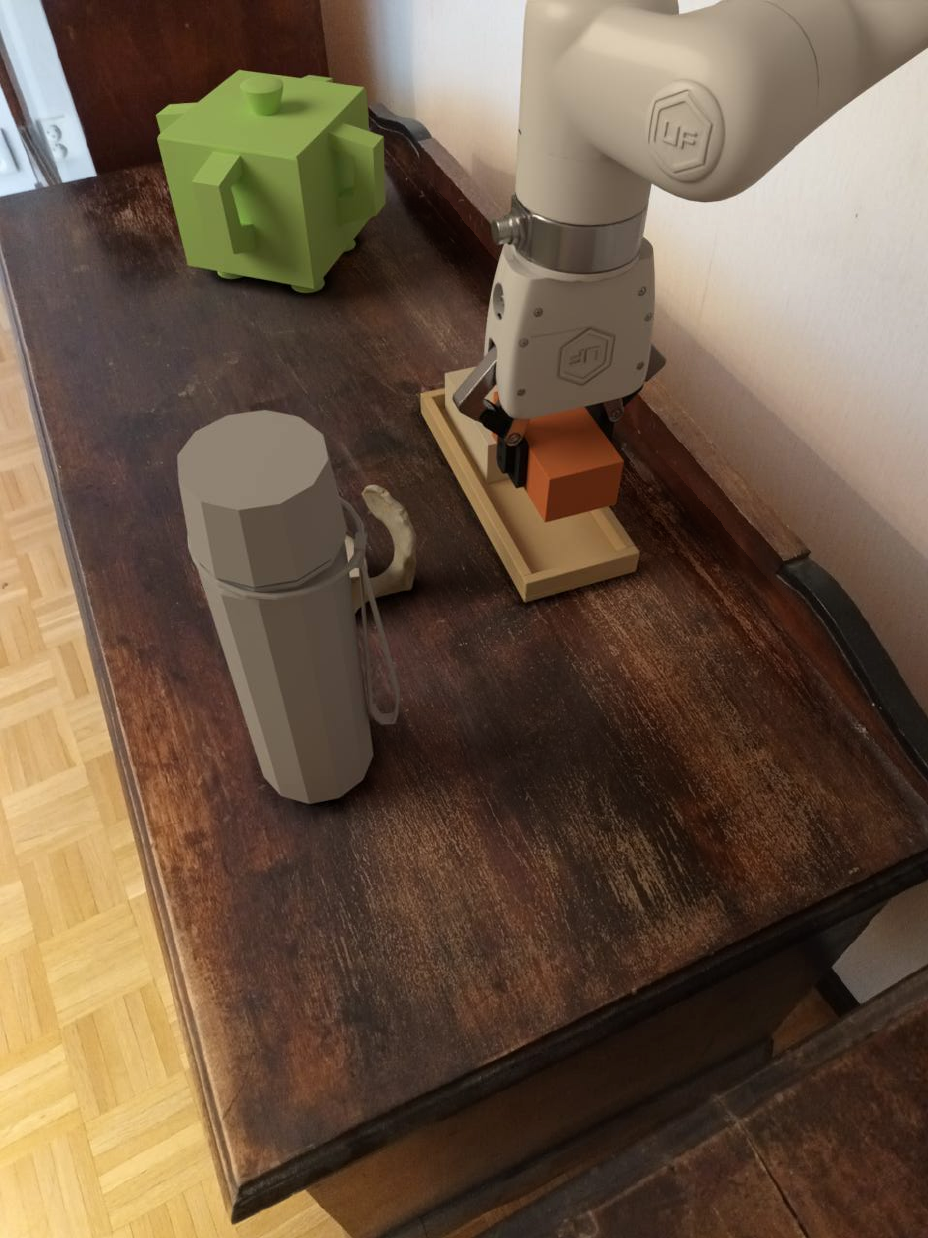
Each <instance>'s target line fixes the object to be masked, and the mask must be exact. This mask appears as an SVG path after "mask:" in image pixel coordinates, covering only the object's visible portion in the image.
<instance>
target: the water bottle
mask: <svg viewBox="0 0 928 1238" xmlns="http://www.w3.org/2000/svg"><path fill="white" fill-rule="evenodd" d="M176 460H177V461H176V462H177V463H176V464H177V479H178V486H179V492H180V499H181V503H182V509H183V516H184V520H185V527H186V531H187V548H188V551H189V554H190V557H191V560H192V562H193V563H194V564H195V566H196V569H197V571H198V575H199V579H200V582H201V585H202V588H203V591H204V594H205V598H206V601H207V604H208V607H209V610H210V613H211V616H212V619H213V623H214V626H215V629H216V633H217V635H218V639H219V641H220V646H221V647H222V651H223V653H224V654H223V655H224V658H225V660H226V664H227V667H228V670H229V672H230V676H231V679H232V683H233V685H234V688H235V692H236V695H237V697H238V701H239V705H240V707H241V711H242V714H243V716H244V720H245V723H246V726H247V729H248V732H249V735H250V738H251V742H252V746H253V748H254V751H255V754H256V757H257V760H258V764H259V766H260V770H261V774H262V776H263V778H264V779H265V780H266V781H267V782H268V783H269V784H270V786H271V787H272V788H273V789H274V790H275V791H276V792H277V793H278V795H280V797H283V798H287V799H290V800H294V801H297V802H299V803H300V802H301V803H304V804H308V805H311V804H312V805H313V804H316V803H321V802H325V801H330V800H331V801H332V800H336V799H340V798H341V797H343V796H344V795H345V794H346V793H348V792H349V791H350V790H352V789H353V788H354V787H356V786H357V785H358V784H360V783H361V782H362V781H363V780H365V779H364V778H365V776H366V774H367V772H368V769H369V766H370V765H371V762H372V760H373V758H374V748H373V741H372V734H371V725H370V718H369V717H370V716H369V713H370V715H371V716H372V717H373V719H374V721H376V722H377V723H379V724H380V725H395V724H396V722H397V719H398V717H399V711H400V694H401V688H400V687H401V686H400V683H399V681H398V676H397V673H396V669H395V666H394V663H393V659H392V656H391V651H390V647H389V644H388V641H387V638H386V637H387V636H386V634H385V631H384V627H383V623H382V620H381V616H380V612H379V609H378V606H377V601H376V598H374V594H373V591H372V587H371V583H370V580H369V578H370V576H369V573H368V569H366V566H365V562H364V557H365V558H366V550H367V549H366V548H367V543H368V542H367V540H368V536H369V535H368V534H369V533H367V532H365V523H364V521H363V520H362V519H361V517H360V516H359V514H358V513H357V511H356V510H355V508H354V506H353V505H352V504H351V503H349V502H348V501H347V500H345V499H344V498H342V497H341V496H340V494H339V490H338V487H337V482H336V479H335V474H334V471H333V468H332V464H331V460H330V455H329V452H328V449H327V444H326V441H325V437H324V434H323V433H322V432H320V431H319V430H317V429H316V428H315V427H314V426H312V425H311V423H309V422H307V421H306V420H304V418H302V417H301V416H297V415H293V414H287V413H282V412H277V411H272V410H267V409H262V410H256V411H255V410H253V411H249V412H241V413H233V414H227V415H225V416H223V417H221V418H219V419H217V420H215V421H214V422H211V423H210V424H207V425H205V426H203V427H202V428H199V429H198V430H195V431H194V433H193V434H192V435H191V437H190V438H189V439H188V440H187V442H186V443H185V444H184V446H183V447H182V448H181V450H180V451H179V452H178V454H177V455H176ZM343 509H344V510H345V512H346V513H347V514H348V515H349V516H350V518H351V520H352V521H353V523H354V525H355V530H356V532H355V534H354V540H355V541H354V554H353V556H352V557H351V559H350V560H349V562H348V558H347V551H346V545H345V539H346V535H347V531H348V529H347V524H346V519H345V516H344V511H343ZM354 568H359V581H360V596H361V607H360V608H361V609H360V611H361V623H362V639H363V652H364V654H363V655H364V666H365V668H364V669H365V680H366V689H365V680H364V673H363V665H362V658H361V657H362V656H361V651H360V650H361V649H360V643H359V642H360V641H359V635H358V628H357V626H358V625H357V620H356V613H355V611H354V604H353V596H352V589H351V581H350V574H349V572H350V571H351V570H353V569H354ZM363 579H364V582H365V586H366V590H367V593H368V597H369V601H368V602H369V604H370V607H371V611H372V615H373V619H374V622H375V626H376V630H377V633H378V637H379V641H380V644H381V648H382V652H383V655H384V660H385V662H386V666H387V670H388V675H389V677H390V682H391V686H392V688H393V692H394V695H395V700H396V701H395V706H394V709H393V712H385V713H382V712H381V711H380V710H379V708H378V707H377V705H376V704H375V703H374V694H373V693H374V692H373V681H372V669H371V658H370V657H371V655H370V644H369V634H368V622H367V621H368V620H367V610H366V609H367V608H366V603H365V596H364V584H363ZM366 694H367V695H366ZM368 708H369V711H368Z"/></svg>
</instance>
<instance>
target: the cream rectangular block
mask: <svg viewBox="0 0 928 1238" xmlns="http://www.w3.org/2000/svg"><path fill="white" fill-rule="evenodd" d="M476 367H477V365H476V366H472V367H467V368H462V369H459V370H458V369H457V370H453V371H448V372H445V373H444V388H445V412H446V414H447V415H448V417H449V419H450V421H451V422H452V424H453V426H454V428H455V429H456V431H457V433H458V435H459V436H460V438H461V440H462V442H463V443H464V445H465V447H466V449H467V450H468V452H469V454H470V456H471V457H472V459H473V461H474V463H475V464H476V466H477V468H478V470H479V471H480V473H481V475H482V477H483V478H484V480H485V482H486V484H488V483H492V482H496V481H500V480H504V479H508V478H509V476H508V474H507V473H505V474H502V472H501V471H500V469H499V467H498V464H497V459H496V455H497V443H496V441H495V439H494V438H493V436H492V432H491V431H490V430H488V429H487V428H485V427H484V426H483V424H482V423H480V422H478V421H475V420H473V419H471V418H469V417H467V416H466V415H464V414H462V413H460V412H459V410H458V408H457V407H456V405H455V403H454V402H453V399H452V397H453V395H454V393H455V392H456V391H457V389H458V388H459V387H460V386H461V385H462V383H463V382H464V381H465V380H466V379H467V377H468V376H469V375H470V374H471V373H472V371H473V370H474V369H475V368H476ZM497 391H498V390H497V385H495V386H494V388H493V389H492V390H491V391H490V392H489V393H488V395H487V396H486V397H485V398H484V399H487V400H489V401H491V402H492V403H493V402H494V392H497Z"/></svg>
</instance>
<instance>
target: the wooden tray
mask: <svg viewBox="0 0 928 1238" xmlns="http://www.w3.org/2000/svg"><path fill="white" fill-rule="evenodd" d="M419 398H420V413H421V415H422V417H423V419H424V421H425V423H426V424H427V426H428V428H429V430H430V431H431V433H432V435H433V438H434V439H435V441H436V443H437V444H438V446H439V448H440V450H441V452H442V454H443V456H444V457H445V459H446V461H447V463H448V465H449V466H450V469H451V470H452V472H453V474H454V476H455V477H456V480H457V481H458V483H459V485H460V487H461V489H462V490H463V492H464V494H465V496H466V498H467V500H468V502H469V503H470V505H471V507H472V509H473V511H474V512H475V514H476V516H477V518H478V520H479V522H480V523H481V525H482V527H483V529H484V531H485V532H486V535H487V536H488V539H489V540H490V542H491V544H492V546H493V547H494V549H495V552H496V553H497V555H498V557H499V559H500V560H501V562H502V564H503V565H504V568H505V569H506V571H507V573H508V575H509V577H510V579H511V580H512V582H513V584H514V586H515V588H516V589H517V590H516V591H518V594H519V595H520V597H521V600H522V601H523V602H524V603H528V602H533V601H537V600H539V599H543V598H547V597H551V596H553V595H556V594H557V595H558V594H560V593H564V592H567V591H571V590H575V589H577V588H578V589H579V588H581V587H585V586H589V585H592V584H596V583H600V582H602V581H607V580H610V579H613V578H618V577H621V576H625V575H628V574H632V573H635V572H637V567H638V562H639V558H640V550H639V549H638V547H637V546H636V545H635V542H634V541H633V540H632V538H631V537H630V536H629V534H628V533H627V531H626V529H625V528H624V527H623V525H622V524H621V523H620V520H619V519H618V518H617V516H616V515H615V513H614V512H613V510H612V509H611V507H610V506H607V507H603V508H600V509H596V510H592V511H588V512H584V513H581V514H577V515H573V516H569V517H565V518H561V519H558V520H554V521H550V522H546V523H545V522H544V520H543V519H542V517H541V515H540V514H539V512H538V511H537V509H536V507H535V506H534V504H533V502H532V501H531V499H530V497H529V496H528V494H527V492H526V491H525V489H524V487H521V488H517V489H516V488H515V486H514V484H513V483H512V481H511V479H510V478H508V479H504V480H500V481H496V482H492V483H488V484H486V482H485V480H484V478H483V477H482V475H481V473H480V471H479V470H478V468H477V466H476V464H475V463H474V461H473V459H472V457H471V456H470V454H469V452H468V450H467V449H466V447H465V445H464V443H463V442H462V440H461V438H460V436H459V435H458V433H457V431H456V429H455V428H454V426H453V424H452V422H451V421H450V419H449V417H448V415H447V414H446V412H445V387H442V388H439V389H434V390H429V391H425V392H421V393H420V397H419Z"/></svg>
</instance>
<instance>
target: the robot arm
mask: <svg viewBox="0 0 928 1238" xmlns="http://www.w3.org/2000/svg"><path fill="white" fill-rule="evenodd" d="M926 50H928V0H719V1H718V2H716V3H715V4H712V5H709V6H705V7H702V8H700V9H695V10H692V11H687V12H683V13H680V6H679V1H678V0H526V3H525V9H524V17H523V32H522V50H521V52H522V53H521V69H520V70H521V72H520V90H519V107H518V108H519V110H518V127H517V128H518V129H517V144H516V145H517V146H516V147H517V149H516V165H515V166H516V168H515V186H514V187H515V188H514V194H512V195H511V198H510V211H509V213H508V214H504V216H503V217H499V218H495V219H493V220H492V221H491V224H490V231H491V237H492V240H493V243H494V244H495V245H497V246H498V245H503V246H502V249H501V253H500V256H499V259H498V262H497V267H496V269H495V270H496V271H495V274H494V279H493V283H492V288H491V292H490V299H489V305H488V309H487V319H486V328H485V336H484V350H483V358H482V359H481V361H479V362H478V364H477V365H476V366H477V367H476V366H475V367H476V368H475V369H474V370H473V371H472V373H471V374H470V375H469V376H468V377H467V379H466V380H465V381H464V382H463V383H462V385H461V386H460V387H459V388H458V389H457V391H456V392H455V393H454V395H453V397H452V399H453V402H454V403H455V405H456V407H457V408H458V410H459V412H460V413H462V414H464V415H466V416H467V417H469V418H471V419H473V420H475V421H478V422H480V423H482V424H483V426H484V427H485V428H487V429H488V430H490V431H491V432H493V433H494V434H496V435H497V455H496V459H497V464H498V467H499V469H500V471H501V472H502V474H505V473H507V474H508V476H509V478H510V479H511V481H512V483H513V484H514V486H515V488H516V489H517V488H521V487H524V485H525V484H526V473H527V461H528V448H529V444H528V442H527V440H526V439H525V437H524V433H525V431H526V429H527V426H528V424H529V422H530V420H531V418H536V417H541V416H546V415H550V414H555V413H559V412H563V411H568V410H572V409H576V408H580V407H585V408H586V410H587V411H588V412H589V414H590V415H591V416H592V418H593V419H594V421H595V422H596V423H597V425H598V426H599V428H600V429H601V430H602V431H603V433H604V434H605V436H606V437H607V438H608V440H609V441H610V442H611V443H612V441H613V440H612V439H613V435H614V434H613V433H614V429H615V428H614V427H615V423H616V422H618V421H620V420H621V419H622V418H623V416H624V415H625V409H624V408H625V407H626V406H627V405H628V404H629V403H630V402H631V401H632V400H633V399H634V398H635V397H636V396H637V395H638V394H639V393H640V392H641V391H642V390H643V388H644V384H645V383H648V382H649V381H650V380H651V379H652V378H654V376H655V375H656V374H657V373H659V372H660V371H661V370H662V369H663V368H664V367H665V366H666V364H667V358H666V356H664V354H663V353H661V351H660V350H659V349H658V348H657V347H656V346H655V344H654V343H653V332H654V320H655V309H656V307H655V306H656V271H655V270H656V269H655V253H654V247H653V244H652V243H651V242H650V241H649V240H648V239H647V238H645V237H644V233H645V228H646V221H647V216H648V208H649V202H650V195H651V191H652V185H653V186H654V187H657V188H658V189H660V190H662V191H664V192H666V193H668V194H671V195H672V196H675V197H677V198H680V199H683V200H686V201H690V202H695V203H696V202H697V203H704V204H705V203H715V202H722V201H726V200H728V199H731V198H734V197H736V196H738V195H740V194H742V193H744V192H745V191H747V190H748V189H749V188H751V187H753V186H754V185H755V184H756V183H758V182H759V181H760V180H761V179H763V178H764V177H765V176H766V175H767V174H768V173H769V172H770V171H772V170H773V169H774V168H775V167H776V166H777V165H778V164H779V163H780V162H782V160H784V158H786V157H787V156H788V155H790V153H792V152H793V151H794V150H795V148H796V147H797V146H798V145H800V144H801V143H802V142H803V141H804V140H805V139H806V138H808V137H809V136H810V135H811V134H812V133H814V132H815V131H816V130H817V129H818V128H819V127H820V126H822V125H824V123H826V122H827V121H828V120H829V119H831V118H832V117H833V116H834V115H835V114H837V113H838V112H840V111H841V110H842V109H843V108H845V107H846V106H847V105H848V104H850V103H852V102H853V101H854V100H855V99H856V98H858V97H859V96H861V95H863V94H864V93H865V92H866V91H868V90H869V89H871V88H873V87H874V86H876V85H877V84H878V83H879V82H881V81H882V80H884V79H885V78H886V77H888V76H889V75H891V74H892V73H893V72H895V71H897V70H898V69H899V68H901V67H902V66H904V65H905V64H907V63H908V62H910V61H912V60H913V59H914V58H916V56H918V55H920V54H921V53H923V52H924V51H926ZM495 385H497V390H498V396H499V398H498V400H497V403H496V405H495V404H494V403H492V402H491V401H489V400H487V399H484V398H485V397H486V396H487V395H488V393H489V392H490V391H491V390H492V389H493V388H494V386H495Z"/></svg>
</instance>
